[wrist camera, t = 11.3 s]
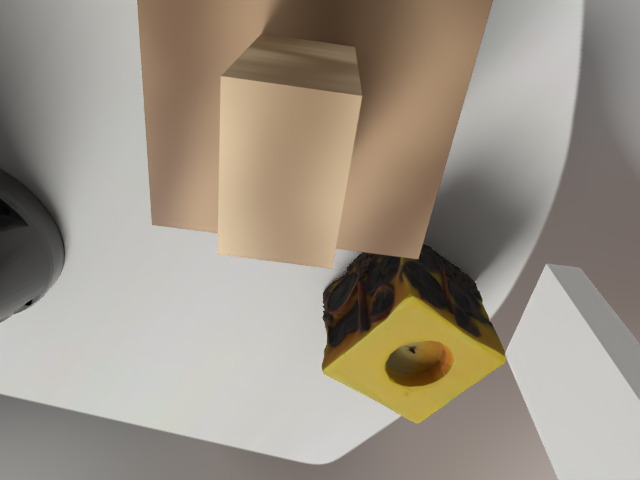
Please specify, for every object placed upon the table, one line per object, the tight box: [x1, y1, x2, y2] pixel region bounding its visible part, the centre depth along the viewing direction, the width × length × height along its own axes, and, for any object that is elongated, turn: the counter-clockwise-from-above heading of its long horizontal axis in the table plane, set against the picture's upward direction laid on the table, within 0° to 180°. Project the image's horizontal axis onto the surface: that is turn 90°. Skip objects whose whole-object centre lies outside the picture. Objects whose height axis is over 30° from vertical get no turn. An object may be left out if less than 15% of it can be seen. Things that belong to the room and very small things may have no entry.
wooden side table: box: [137, 0, 493, 269], centre depth 24 cm, size 14×14×21 cm
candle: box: [322, 244, 507, 424], centre depth 39 cm, size 10×10×10 cm
